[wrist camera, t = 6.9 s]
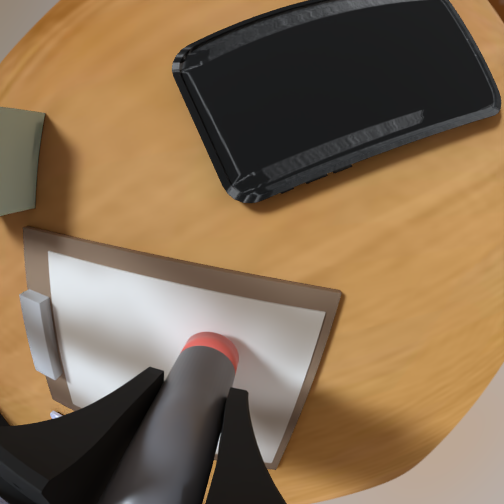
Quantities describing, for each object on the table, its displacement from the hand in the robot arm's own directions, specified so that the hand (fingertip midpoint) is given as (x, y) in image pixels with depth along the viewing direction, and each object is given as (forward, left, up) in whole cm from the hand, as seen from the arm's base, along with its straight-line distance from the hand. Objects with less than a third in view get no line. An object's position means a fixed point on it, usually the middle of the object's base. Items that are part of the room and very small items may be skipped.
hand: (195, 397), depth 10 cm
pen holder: (+8, +15, -4) cm, 17 cm away
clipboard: (-3, +4, -4) cm, 6 cm away
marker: (0, 0, -3) cm, 3 cm away
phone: (+14, -4, -5) cm, 15 cm away
